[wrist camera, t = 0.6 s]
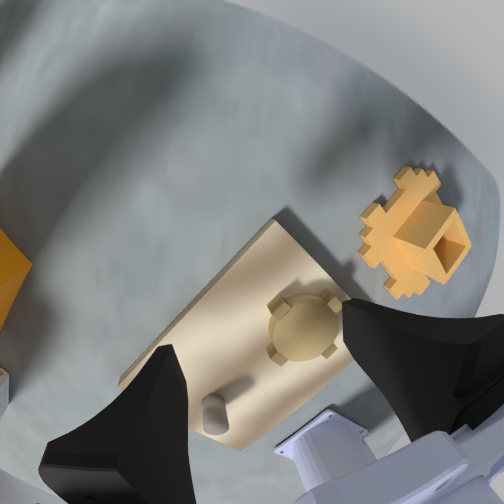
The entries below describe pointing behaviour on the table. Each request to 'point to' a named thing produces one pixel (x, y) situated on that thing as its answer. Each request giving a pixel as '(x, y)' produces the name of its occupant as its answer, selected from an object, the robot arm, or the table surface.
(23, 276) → the orange juice
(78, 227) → the table surface
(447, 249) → the gear
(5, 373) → the skincare box
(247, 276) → the carrier plate
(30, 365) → the table surface
